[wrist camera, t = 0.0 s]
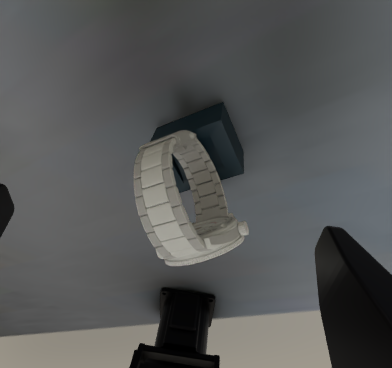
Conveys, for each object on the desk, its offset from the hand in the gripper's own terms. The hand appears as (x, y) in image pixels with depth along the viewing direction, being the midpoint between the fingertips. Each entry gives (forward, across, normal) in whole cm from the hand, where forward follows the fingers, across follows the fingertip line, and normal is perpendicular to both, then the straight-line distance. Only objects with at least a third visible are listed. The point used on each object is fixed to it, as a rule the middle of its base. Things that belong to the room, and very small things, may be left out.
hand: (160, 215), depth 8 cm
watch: (+15, 0, +5) cm, 16 cm away
